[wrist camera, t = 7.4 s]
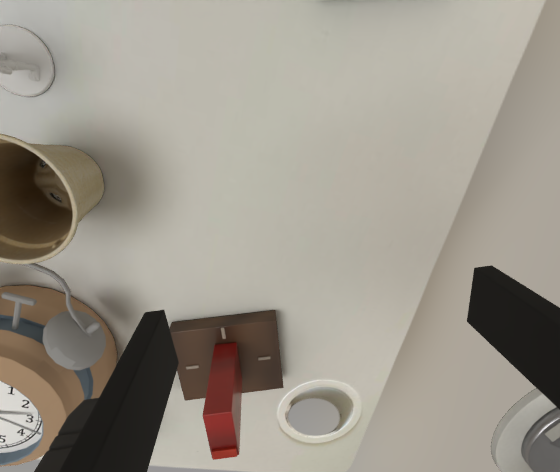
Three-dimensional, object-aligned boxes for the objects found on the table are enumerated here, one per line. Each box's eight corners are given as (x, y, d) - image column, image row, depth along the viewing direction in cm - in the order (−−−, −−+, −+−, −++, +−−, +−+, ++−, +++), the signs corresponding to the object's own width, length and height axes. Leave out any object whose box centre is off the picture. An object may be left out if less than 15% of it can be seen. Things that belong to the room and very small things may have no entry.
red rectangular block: (214, 344, 35) (201, 418, 27) (236, 341, 35) (231, 414, 27) (221, 381, 37) (211, 461, 29) (242, 379, 37) (239, 457, 29)
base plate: (275, 309, 37) (276, 321, 35) (282, 375, 40) (283, 389, 38) (171, 321, 36) (167, 333, 34) (187, 387, 40) (184, 401, 38)
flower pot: (113, 239, 32) (66, 279, 24) (11, 209, 30) (-76, 243, 22) (132, 150, 29) (86, 162, 21) (21, 111, 27) (-75, 109, 19)
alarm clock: (-141, 470, 28) (-152, 248, 21) (-49, 388, 37) (-36, 210, 30) (61, 499, 32) (108, 315, 25) (102, 417, 40) (145, 264, 33)
